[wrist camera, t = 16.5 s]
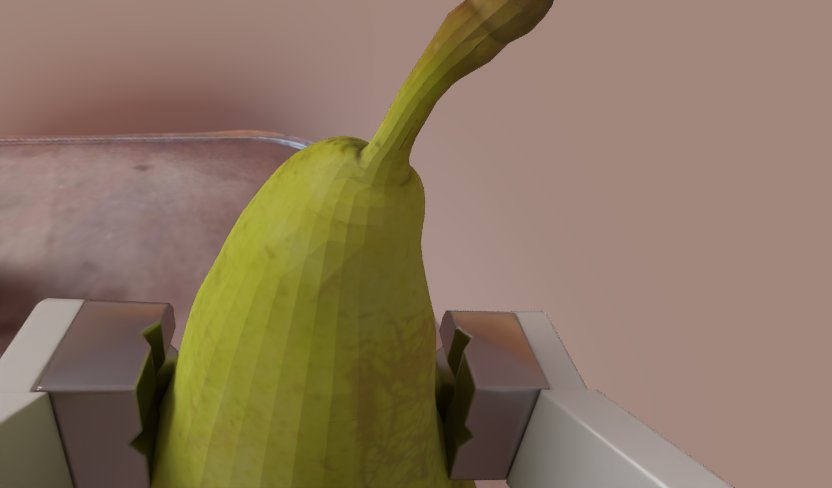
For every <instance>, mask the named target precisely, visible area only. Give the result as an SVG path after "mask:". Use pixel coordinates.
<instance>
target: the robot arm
mask: <svg viewBox="0 0 832 488" xmlns="http://www.w3.org/2000/svg"><path fill="white" fill-rule="evenodd" d="M175 327H176V326H175V318H174V311H173V307H172V306H171V304H170V303H157V302H135V301H113V300H92V299H90V300H82V299H56V298H47V299H45V300H43V301H41V302H39V303H38V304H37V305H36V306H35V308H34V309H33V311H32V312H31V314H30V315H29V317H28V318H27V320H26V321H25V323H24V324H23V326H22V327H21V329H20V330H19V332H18V333H17V335H16V336H15V338H14V339H13V341H12V342H11V344H10V345H9V347H8V348H7V350H6V351H5V353H4V354H3V356H2V357H1V359H0V488H151V481H152V471H153V462H154V452H155V445H156V438H157V432H158V425H159V418H160V411H159V407H160V404H161V402H162V399H163V397H164V394H165V392H166V390H167V388H168V386H169V384H170V381H171V378H172V375H173V372H174V368H175V365H176V361H177V358H178V351H177V350H176V349H175V348H174V347H173V346H172V345H171V344H170V343H171V340H172V337H173V333H174V330H175ZM439 332H440V336H441V340H442V344H443V346H442V347H441V348H440V349H439V350H438V351H437V352H436V364H435V400H436V408H437V410H438V412H439V414H440V417H441V419H442V422H443V424H444V426H443V432H444V439H445V447H446V454H447V462H448V478H449V480H507V481H506V483H507V484H508V486H509V487H510V488H735V487H733V486H732V485H730V484H729V483H728V482H726V481H725V480H723V479H722V478H721V477H719V476H718V475H716V474H715V473H714V472H712V471H711V470H709V469H708V468H706V467H705V466H704V465H702V464H701V463H700V462H698V461H697V460H695V459H694V458H693V457H691V456H690V455H688V454H687V453H686V452H684V451H683V450H681V449H680V448H679V447H677V446H676V445H674V444H673V443H671V442H670V441H669V440H667V439H666V438H665V437H663V436H662V435H660V434H659V433H658V432H656V431H655V430H653V429H652V428H650V427H649V426H648V425H646V424H645V423H644V422H642V421H641V420H639V419H638V418H637V417H635V416H634V415H632V414H631V413H630V412H628V411H627V410H625V409H624V408H623V407H621V406H620V405H618V404H617V403H615V402H614V401H613V400H611V399H610V398H609V397H607V396H606V395H604V394H603V393H602V392H600V391H599V390H588V389H587V387H586V385H585V383H584V381H583V380H582V378H581V376H580V374H579V373H578V370H577V369H576V367H575V365H574V363H573V361H572V359H571V357H570V356H569V354H568V352H567V350H566V348H565V346H564V345H563V343H562V341H561V339H560V337H559V335H558V334H557V332H556V330H555V328H554V326H553V324H552V322H551V321H550V319H549V317H548V315H547V314H545V313H544V312H543V311H510V312H494V311H492V312H491V311H446V312H445V314H444V316H443V319H442V322H441V326H440V331H439Z"/></svg>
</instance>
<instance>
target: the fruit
mask: <svg viewBox="0 0 832 488" xmlns="http://www.w3.org/2000/svg"><path fill="white" fill-rule="evenodd" d="M553 1H554V0H465V1H464V2H463V3H461V4H460V5H459V6H457V7H456V8H455V9H454V10H452V11H451V12H450V13H449V14H448V15H447V17H446V19H445V21H444V22H443V23H442V25H441V27H440V29H439V30H438V31H437V33H436V35H435V36H434V38H433V40H432V41H431V43H430V44H429V46H428V47H427V49H426V50H425V52H424V53H423V55H422V56H421V58H420V59H419V61H418V63H417V64H416V66H415V67H414V69H413V70H412V72H411V73H410V75H409V77H408V78H407V80H406V81H405V83H404V85H403V86H402V88H401V89H400V91H399V93H398V95H397V96H396V98H395V100H394V102H393V103H392V105H391V107H390V109H389V111H388V113H387V114H386V116H385V118H384V120H383V122H382V124H381V126H380V128H379V129H378V131H377V133H376V135H375V136H374V138H373V139H372V140H371V142H370V143H368V142H366V141H364V140H362V139H359V138H354V137H347V136H339V137H333V138H328V139H325V140H322V141H320V142H317V143H314V144H312V145H310V146H308V147H306V148H304V149H302V150H301V151H299V152H297V153H296V154H294V155H293V156H292V157H290V158H289V159H288V160H287V161H286V162H284V163H283V164H282V165H281V166H280V167H279V168H278V169H277V170H276V171H275V173H274V174H273V175H272V176H271V177H270V178H269V179H268V181H267V182H266V183H265V184H264V185H263V187H262V188H261V189H260V190H259V192H258V193H257V194H256V195H255V197H254V198H253V199H252V200H251V202H250V203H249V204H248V206H247V207H246V208H245V209H244V211H243V212H242V214H241V216H240V217H239V219H238V221H237V222H236V224H235V226H234V227H233V229H232V231H231V232H230V234H229V236H228V237H227V239H226V241H225V243H224V245H223V247H222V249H221V251H220V253H219V255H218V257H217V259H216V261H215V263H214V264H213V266H212V268H211V270H210V272H209V273H208V275H207V277H206V279H205V280H204V282H203V284H202V286H201V287H200V289H199V291H198V293H197V295H196V298H195V301H194V304H193V307H192V309H191V312H190V315H189V319H188V322H187V326H186V329H185V332H184V336H183V340H182V343H181V347H180V351H179V354H178V358H177V361H176V365H175V368H174V372H173V375H172V378H171V381H170V384H169V386H168V388H167V390H166V392H165V394H164V397H163V399H162V402H161V404H160V407H159V411H160V418H159V425H158V432H157V438H156V445H155V452H154V462H153V471H152V481H151V488H476V485H475V482H474V480H449V478H448V462H447V454H446V447H445V439H444V432H443V426H444V424H443V422H442V419H441V417H440V414H439V412H438V410H437V408H436V400H435V364H436V329H435V318H434V313H433V309H432V305H431V301H430V296H429V291H428V286H427V281H426V276H425V271H424V266H423V260H422V251H421V235H422V228H423V222H424V214H425V195H424V187H423V185H422V181H421V179H420V177H419V175H418V174H417V172H416V171H415V170H414V169H413V168H412V167H411V166H410V164H409V156H410V152H411V148H412V145H413V143H414V141H415V138H416V136H417V135H418V133H419V131H420V129H421V128H422V126H423V125H424V123H425V121H426V119H427V117H428V116H429V114H430V113H431V111H432V109H433V107H434V105H435V104H436V102H437V101H438V100H439V98H440V97H441V96H442V95H443V94H444V93H445V92H446V91H447V90H448V89H449V88H450V86H451V85H453V84H454V83H455V82H456V81H458V80H459V79H461V78H462V77H464V76H466V75H467V74H469V73H471V72H473V71H474V70H476V69H478V68H480V67H481V66H483V65H485V64H486V63H488V62H490V61H491V60H492V59H493V58H494V57H495V56H496V55H497V54H498V53H499V52H500V51H501V50H502V49H503V48H504V47H505V46H506V45H507V44H508V43H510V42H512V41H514V40H516V39H518V38H519V37H522V36H523V35H525V34H527V33H529V32H530V31H531V30H532V29H533V28H534V27H535V26H536V25H537V24H538V23H539V22H540V21H541V20H542V19H543V18H544V17H545V15H546V14H547V12H548V11H549V9H550V8H551V6H552V4H553Z"/></svg>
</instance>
